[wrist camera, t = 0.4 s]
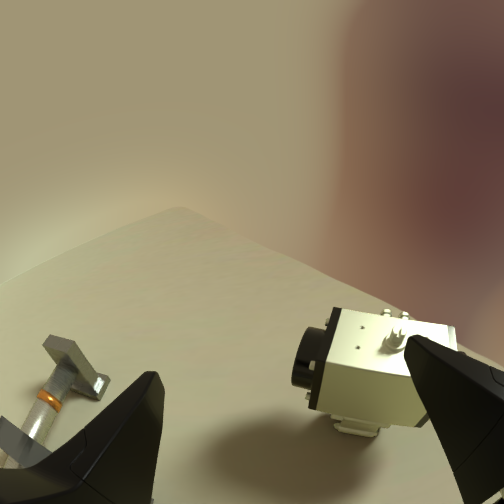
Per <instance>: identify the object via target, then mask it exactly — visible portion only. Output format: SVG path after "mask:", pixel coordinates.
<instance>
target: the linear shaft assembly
mask: <svg viewBox="0 0 504 504" xmlns="http://www.w3.org/2000/svg"><path fill="white" fill-rule="evenodd" d="M43 347H44V348H45V350H46V351H47V352H48V354H49V355H50V356H51V358H52V359H53V360H54V362H55V363H56V364H57V366H56V367H55V369H54V370H53V372H52V374H51V375H50V377H49V379H48V380H47V382H46V384H45V385H44V387H43V389H41V390H40V392H39V394H38V395H37V399H36V401H35V403H34V405H33V407H32V408H31V410H30V412H29V414H28V416H27V418H26V420H25V422H24V424H23V426H22V428H21V431H23V432H24V433H26V434H27V435H28V436H30V437H31V438H32V439H34V440H35V441H36V442H38V443H39V444H40V445H42V444H43V441H44V439H45V437H46V435H47V433H48V431H49V429H50V427H51V425H52V423H53V421H54V419H55V417H56V415H57V413H59V411H60V409H61V407H62V403H63V401H64V399H65V397H66V396H67V394H68V392H69V390H72V391H75V392H77V393H80V394H83V395H85V396H88V397H91V398H94V399H97V400H101V398H102V396H103V394H104V392H105V390H106V388H107V386H108V384H109V382H110V378H109V377H108V376H107V375H103V374H100V373H96V371H95V370H94V369H93V367H92V366H91V365H90V363H89V362H88V360H87V359H86V357H85V356H84V355H83V353H82V352H81V350H80V349H79V347H78V346H77V344H76V343H75V341H73V340H69V339H65V338H61V337H57V336H54V335H49V336H48V338H47V339H46V340H45V342H44V343H43ZM3 468H13V469H20V468H26V467H24V466H22V465H21V464H19V463H18V462H16V461H15V460H14V459H13V458H12V457H10V456H9V455H8V457H7V460H6V462H5V465H4V467H3Z"/></svg>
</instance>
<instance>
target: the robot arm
mask: <svg viewBox="0 0 504 504" xmlns="http://www.w3.org/2000/svg"><path fill="white" fill-rule="evenodd" d="M403 356H404V360H405V363H406V365H407V368H408V370H409V373H410V376H411V378H412V381H413V384H414V386H415V389H416V391H417V393H418V395H419V397H420V399H421V401H422V403H423V405H424V407H425V410H426V412H427V414H428V416H429V418H430V420H431V422H432V424H433V427H434V429H435V431H436V433H437V435H438V438H439V440H440V442H441V445H442V447H443V449H444V452H445V454H446V456H447V459H448V461H449V464H450V466H451V469H452V471H453V472H454V473H453V474H454V477H455V480H456V482H457V485H458V488H459V490H460V493H461V496H462V499H463V502H464V504H482V503H483V502H485V501H486V500H488V499H489V498H490V497H492V496H493V495H494V494H496V493H497V492H498V491H500V493H501V495H502V497H501V498H499V499H498V500H497V501H496V502H494V503H493V504H504V372H503V371H501V370H498V369H496V368H494V367H492V366H489V365H487V364H485V363H482V362H480V361H478V360H476V359H473V358H471V357H469V356H467V355H464V354H462V353H460V352H458V351H455V350H453V349H451V348H449V347H446V346H444V345H442V344H440V343H437V342H435V341H433V340H431V339H428V338H426V337H424V336H422V335H419V334H415V335H412V336H409V337H408V338H407V342H406V346H405V349H404V354H403ZM164 396H165V390H164V386H163V384H162V381H161V379H160V377H159V375H158V373H157V372H156V371H146V372H144V373H143V374H142V375H141V376H140V377H139V378H138V379H137V380H135V381H134V382H133V383H132V384H131V385H130V386H129V387H128V388H127V389H126V390H125V391H124V392H122V393H121V394H120V395H119V396H118V397H117V398H116V399H115V400H114V401H113V402H112V403H110V404H109V405H108V406H107V407H106V408H105V409H104V410H103V411H102V412H101V413H99V414H98V415H97V416H96V417H95V418H94V419H93V420H92V421H91V422H90V423H88V424H87V425H86V426H85V427H84V428H83V429H82V430H81V431H79V432H78V433H77V434H76V435H75V436H74V437H72V438H71V439H70V440H69V441H68V442H66V443H65V444H64V445H62V446H61V447H60V448H58V449H57V450H56V451H54V452H53V453H51V454H50V455H48V456H47V457H46V458H44V459H43V460H41V461H40V462H38V463H37V464H35V465H33V466H31V467H28V468H20V469H13V468H0V504H151V497H152V490H153V483H154V476H155V470H156V463H157V457H158V451H159V445H160V440H161V434H162V427H163V411H164Z"/></svg>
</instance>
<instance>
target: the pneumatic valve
mask: <svg viewBox="0 0 504 504" xmlns="http://www.w3.org/2000/svg"><path fill="white" fill-rule="evenodd" d="M325 326H327V329H326V330H324V329H319V328H314V327H308V328H307V329H306V331H305V333H304V335H303V337H302V339H301V342H300V345H299V348H298V351H297V354H296V358H295V361H294V365H293V370H292V377H291V383H292V385H293V386H296V387H300V388H304V389H308V390H311V393H309V392H307V394H306V397H305V399H306V400H309V406H308V408H309V409H313V410H317V411H321V412H325V413H329V414H331V417H330V418H332V419H336V420H341V422H340V423H335V424H334V427H335V429H337V430H338V432H343V433H348V434H353V435H359V436H365V437H371V438H372V437H373V436H377V433H378V430H377V429H378V428H379V427H381V428H389V427H390V426H391V425H399V426H408V427H419V428H421V427H422V426H423V425H424V424H425V423H426V422H427V421H428V420H430V418H429V416H428V414H427V412H426V410H425V407H424V405H423V403H422V401H421V399H420V397H419V395H418V393H417V391H416V389H415V386H414V384H413V381H412V378H411V376H410V373H409V370H408V368H407V365H406V363H405V360H404V356H403V354H404V349H405V346H406V342H407V338H408V337H409V336H412V335H415V334H419V335H422V336H424V337H426V338H428V339H431V340H433V341H435V342H437V343H440V344H442V345H444V346H446V347H449V348H451V349H453V350H455V351H457V345H456V336H455V329H454V326H448V325H440V324H433V323H426V322H420V321H413V320H409V314H408V313H407V312H402V313H400V315H399V317H398V318H394V317H392V313H391V311H390V310H389V309H384V310H383V311H382V312H381V314H380V315H376V314H370V313H365V312H359V311H353V310H348V309H342V308H337V307H333V310H332V313H331V317H330V318H327V319H326V322H325ZM458 352H460V353H462V354H464V355H466V354H465V353H464V352H462V351H458Z"/></svg>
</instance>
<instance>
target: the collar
mask: <svg viewBox="0 0 504 504" xmlns="http://www.w3.org/2000/svg"><path fill="white" fill-rule="evenodd" d="M0 448H1V449H2V450H4V451H5V452H6V453H7V454H8V455H9V456H10V457H12V458H13V459H14V460H15V461H16V462H18V463H19V464H21V465H22V466H24V467H26V468H28V467H31V466H33V465H35V464H37V463H38V462H40V461H41V460H43V459H44V458H46V457H47V456H48V455H50V454H51V453H52V452H50V451H49V450H48V449H46V448H45V447H43V446H42V445H40V444H39V443H38V442H36V441H35V440H34V439H32V438H31V437H30V436H28V435H27V434H26V433H24V432H23V431H21V430H20V429H19V428H17V427H16V426H15V425H13V424H12V423H11V422H9V421H8V420H7V419H6V418H4V417H3V416H1V418H0ZM153 501H154V499H152V498H151V504H153Z"/></svg>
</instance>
